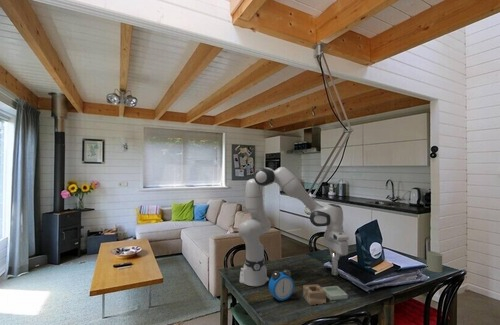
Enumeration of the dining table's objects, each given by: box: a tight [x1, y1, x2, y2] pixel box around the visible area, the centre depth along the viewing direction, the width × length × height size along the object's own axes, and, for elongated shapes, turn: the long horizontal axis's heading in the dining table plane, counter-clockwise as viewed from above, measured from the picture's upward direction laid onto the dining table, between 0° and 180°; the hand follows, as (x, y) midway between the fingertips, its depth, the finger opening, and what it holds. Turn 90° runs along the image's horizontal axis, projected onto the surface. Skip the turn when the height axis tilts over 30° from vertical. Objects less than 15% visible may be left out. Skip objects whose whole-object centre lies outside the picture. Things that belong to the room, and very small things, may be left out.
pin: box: [331, 250, 339, 276], centre depth 141 cm, size 3×3×14 cm
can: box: [425, 250, 443, 274], centre depth 177 cm, size 9×9×12 cm
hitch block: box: [302, 283, 327, 306], centre depth 135 cm, size 9×9×6 cm
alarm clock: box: [268, 269, 295, 302], centre depth 137 cm, size 13×6×15 cm, turn 113°
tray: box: [321, 285, 349, 302], centre depth 141 cm, size 10×10×2 cm
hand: (334, 257), depth 141 cm, fingers closed on pin, 3 cm apart
